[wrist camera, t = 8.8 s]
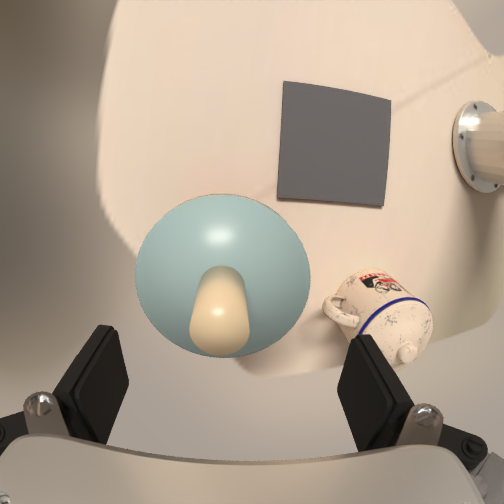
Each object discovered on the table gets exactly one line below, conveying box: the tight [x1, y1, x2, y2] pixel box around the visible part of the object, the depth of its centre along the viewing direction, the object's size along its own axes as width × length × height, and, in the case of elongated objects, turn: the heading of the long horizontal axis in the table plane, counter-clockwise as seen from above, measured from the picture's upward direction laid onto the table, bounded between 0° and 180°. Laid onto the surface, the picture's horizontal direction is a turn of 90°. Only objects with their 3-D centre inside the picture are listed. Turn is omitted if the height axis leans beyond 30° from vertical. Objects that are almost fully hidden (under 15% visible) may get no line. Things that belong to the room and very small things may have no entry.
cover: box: [135, 194, 310, 358], centre depth 16 cm, size 11×11×6 cm
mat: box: [277, 81, 391, 206], centre depth 28 cm, size 12×12×1 cm
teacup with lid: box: [323, 269, 433, 372], centre depth 29 cm, size 12×9×12 cm
